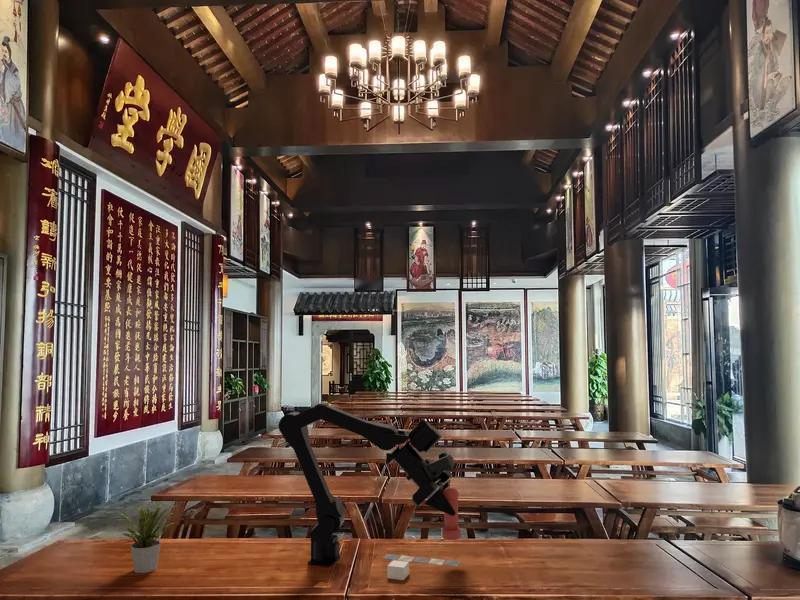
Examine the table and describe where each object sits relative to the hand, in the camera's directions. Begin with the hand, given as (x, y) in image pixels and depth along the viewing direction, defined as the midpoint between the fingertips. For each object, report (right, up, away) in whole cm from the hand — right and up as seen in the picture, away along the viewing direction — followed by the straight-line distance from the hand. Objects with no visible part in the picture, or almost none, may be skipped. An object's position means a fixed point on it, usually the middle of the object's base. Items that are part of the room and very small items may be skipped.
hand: (456, 512), depth 155 cm
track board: (-9, -14, +2) cm, 16 cm away
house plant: (-76, -15, +1) cm, 78 cm away
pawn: (-1, -6, 0) cm, 6 cm away
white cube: (-14, -13, -9) cm, 21 cm away
